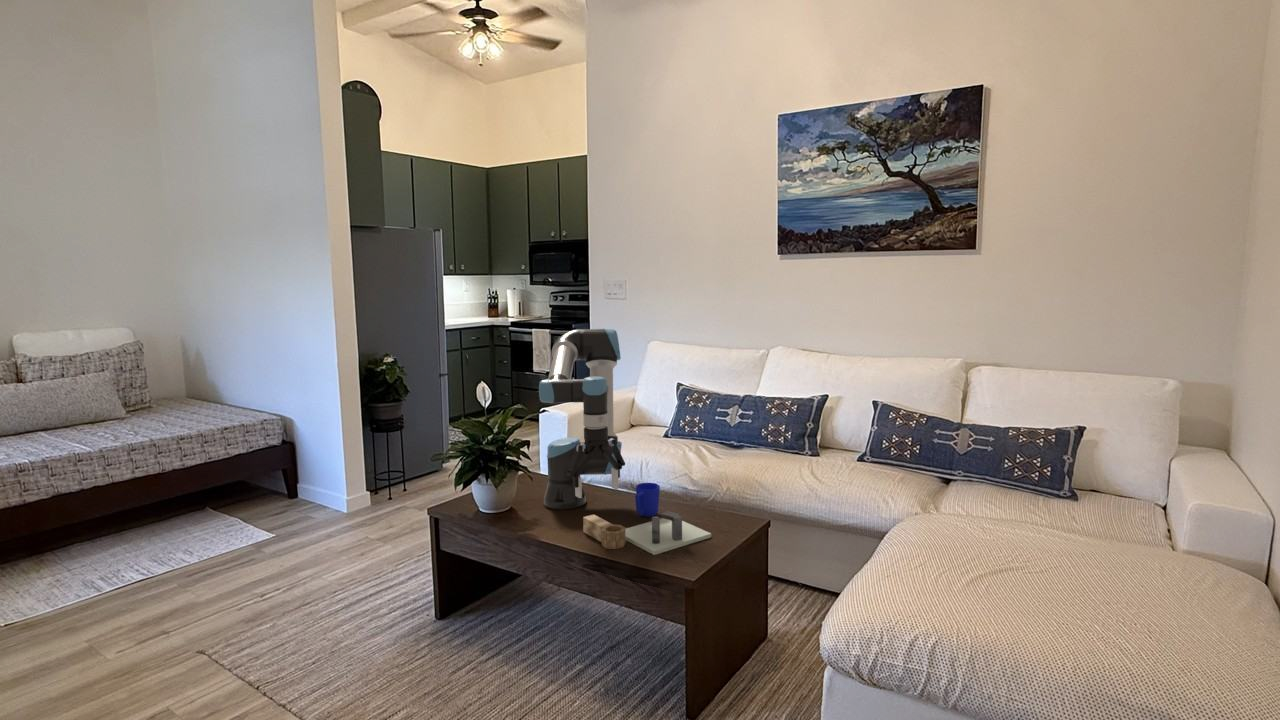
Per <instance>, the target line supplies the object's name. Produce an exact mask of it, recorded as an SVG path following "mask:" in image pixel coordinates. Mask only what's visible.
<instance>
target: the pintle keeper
mask: <svg viewBox="0 0 1280 720" xmlns="http://www.w3.org/2000/svg"><path fill="white" fill-rule="evenodd" d="M680 515H681V514H680V513H677V512H673V511H669V510H667V511H664V512H662V513H661V514H660V516H656V515H654V516H651V521H652V543H653V544H659V543H660V519H662V518H664V519H667V520H671V521H672V539H673V540H675V541H677V540H682V521H683V517H682V516H680Z"/></svg>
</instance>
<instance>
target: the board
mask: <svg viewBox="0 0 1280 720" xmlns="http://www.w3.org/2000/svg"><path fill="white" fill-rule="evenodd" d="M625 536H626V542H629V543H631V544H632V545H634V546H636V547H639V548H640V549H642V550H644V551H646V552H647V553H649V554H651V555H653V556H656V555H659V554H661V553H664V552H669V551H671V550H674V549H678V548H681V547H684V546H688V545H691V544H694V543H697V542H699V541H700V542H701V541H704V540H706V539H710V538H712V533H711V532H709V531H707V530H704V529H702V528H700V527H698V526H696V525H693V524H691V523H688V522H686V521H684V520H682V540H677V541H675V540H673V539H672V521H671V520H667V519H664V518H660V543H659V544H653V543H652V520H651V521H648V522H645V523H641V524H637V525H634V526H630V527H625Z"/></svg>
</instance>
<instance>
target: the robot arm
mask: <svg viewBox="0 0 1280 720" xmlns="http://www.w3.org/2000/svg"><path fill="white" fill-rule="evenodd" d="M617 332H618V331H617V330H615V329H613V328H612V329H611V328H593V329H589V328H583V329H581V328H578V329H572V330H570V331H567V332H565V333H563V334H562V335H561V336H559V337H558V339H556V341H555V342H554V343H553V344H552V345H553V346H552V349H551V357H552V359H551V360H552V361H551V365H550V368H549V373H548V376H547V377H548V378H546V379H542V380H540V382H539V386H538V397H539V401H540V402H541V403H547V404H558V403H559V404H564V403H565V404H566V403H583V426H584V428H583V439H584V442H581V441H580V438H578V437H573V436H571V437H563V438H560V439H555V440H553V441H552V442H550V443H549V444H548V446H547V455H546V458H547V480H548V481H547V486H546V488H545V493H544V496H543V505H544V506H545V507H546V508H549V509H553V510H572V509H577V508H579V507H582V506H583V505H585V504H586V501H587V499H586V494H585V490H584V488H583V485H582V483H583V479H582V476H583V475H584V476H586V475H587V476H589V475H591V476H592V475H596V476H597V475H599V476H600V475H601V476H602V475H605V476H606V475H611V488H612V489H614V490H619V479H620V477H621V470H622V469H623V467H625V465H626V461H625V460H624V457H623V456H622V446H623V445H622V444H623V442H622V441H620V440H619V439H618V438H619V436H617V435H616V433H615V432H614V368H615V367H617V365H618V361H619V360H621V351H620V343H619V337H618V333H617ZM576 361H585V365H586V366H587V368H589V376H587V377H584V378H582V379H581V378H579V379H577V378H576V379H575V378H573V379H572V377H573V376H572V375H573V370H574V364H575V362H576Z"/></svg>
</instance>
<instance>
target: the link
mask: <svg viewBox="0 0 1280 720" xmlns="http://www.w3.org/2000/svg"><path fill="white" fill-rule="evenodd" d="M582 522H583V524H582V525H583V529H582V530H583V533H585V534H586V535H588V536H590V537H591V538H593V539H594V540H597V541H599V542H600V543H601V546H602V547H603V548H605V549H607V550H619V549H621V548H624V547H625V546H626V543H627V540H626V536H625V529H626V527H625V526H623V525H622V524H613V523H611V522H609V521H607V520H605V519H603V518H602V517H599V516H598V515H596V514H590V515H586V516H583V517H582Z"/></svg>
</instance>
